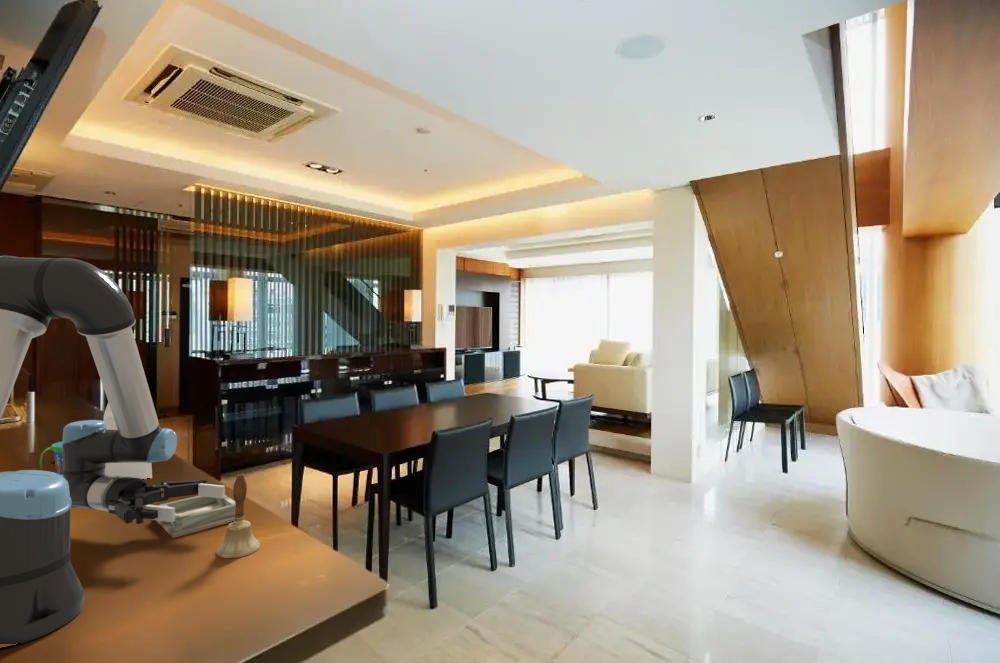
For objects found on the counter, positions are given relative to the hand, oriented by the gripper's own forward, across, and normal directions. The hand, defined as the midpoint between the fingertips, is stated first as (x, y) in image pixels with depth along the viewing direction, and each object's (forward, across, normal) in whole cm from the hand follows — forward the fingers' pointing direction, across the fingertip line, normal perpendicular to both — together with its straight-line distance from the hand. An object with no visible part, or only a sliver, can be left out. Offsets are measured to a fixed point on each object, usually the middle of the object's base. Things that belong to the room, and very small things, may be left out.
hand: (200, 502), depth 107 cm
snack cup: (-72, -29, -9) cm, 78 cm away
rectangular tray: (-11, -11, -9) cm, 18 cm away
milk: (-56, -32, -9) cm, 66 cm away
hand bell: (+10, 0, -9) cm, 13 cm away
